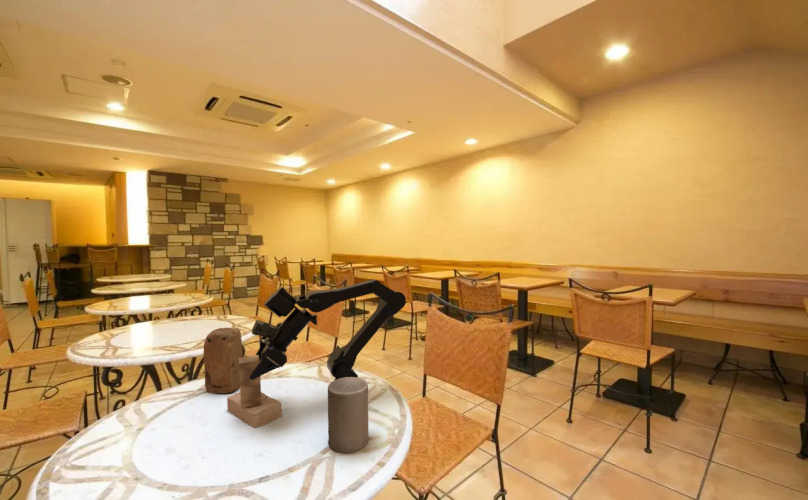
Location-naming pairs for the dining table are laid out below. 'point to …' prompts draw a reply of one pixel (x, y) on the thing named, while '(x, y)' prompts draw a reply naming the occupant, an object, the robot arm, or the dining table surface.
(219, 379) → the block
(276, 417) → the brick
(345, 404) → the pillar candle
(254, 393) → the walnut block
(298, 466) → the dining table surface
